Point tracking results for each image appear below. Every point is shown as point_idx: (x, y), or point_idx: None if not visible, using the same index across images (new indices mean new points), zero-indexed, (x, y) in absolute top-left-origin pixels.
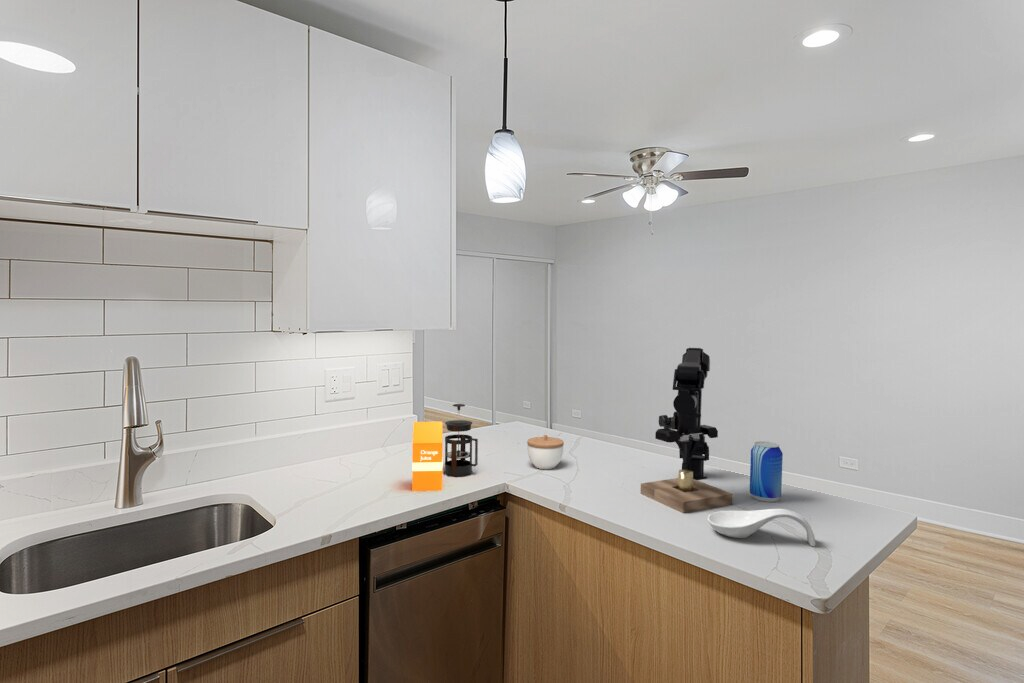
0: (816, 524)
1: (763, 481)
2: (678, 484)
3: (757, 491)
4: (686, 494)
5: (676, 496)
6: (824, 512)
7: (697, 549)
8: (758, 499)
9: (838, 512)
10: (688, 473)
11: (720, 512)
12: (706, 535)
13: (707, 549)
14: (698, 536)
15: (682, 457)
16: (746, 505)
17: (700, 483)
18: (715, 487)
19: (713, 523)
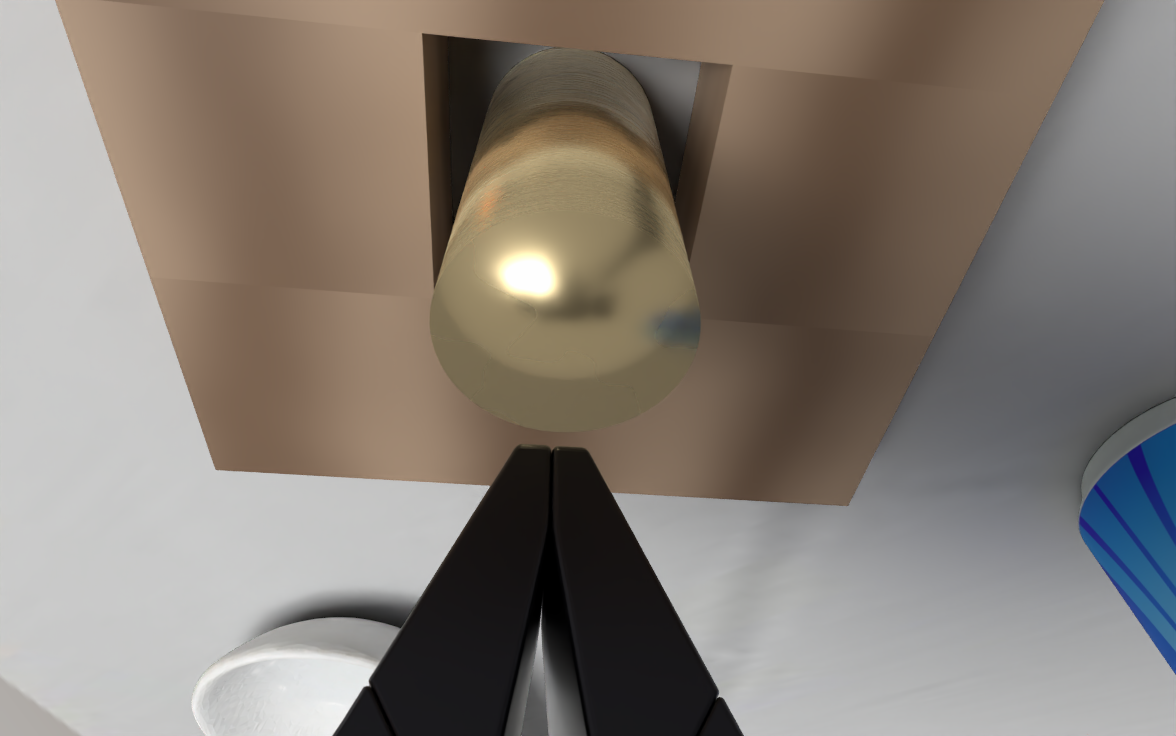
0: (850, 721)
1: (1166, 655)
2: (477, 157)
3: (1112, 530)
4: (399, 351)
5: (239, 346)
6: (1090, 680)
7: (42, 686)
8: (1088, 470)
9: (1140, 698)
10: (513, 420)
11: (361, 664)
12: (188, 632)
13: (96, 697)
14: (132, 626)
15: (467, 532)
16: (879, 485)
17: (962, 136)
18: (926, 334)
19: (194, 714)
